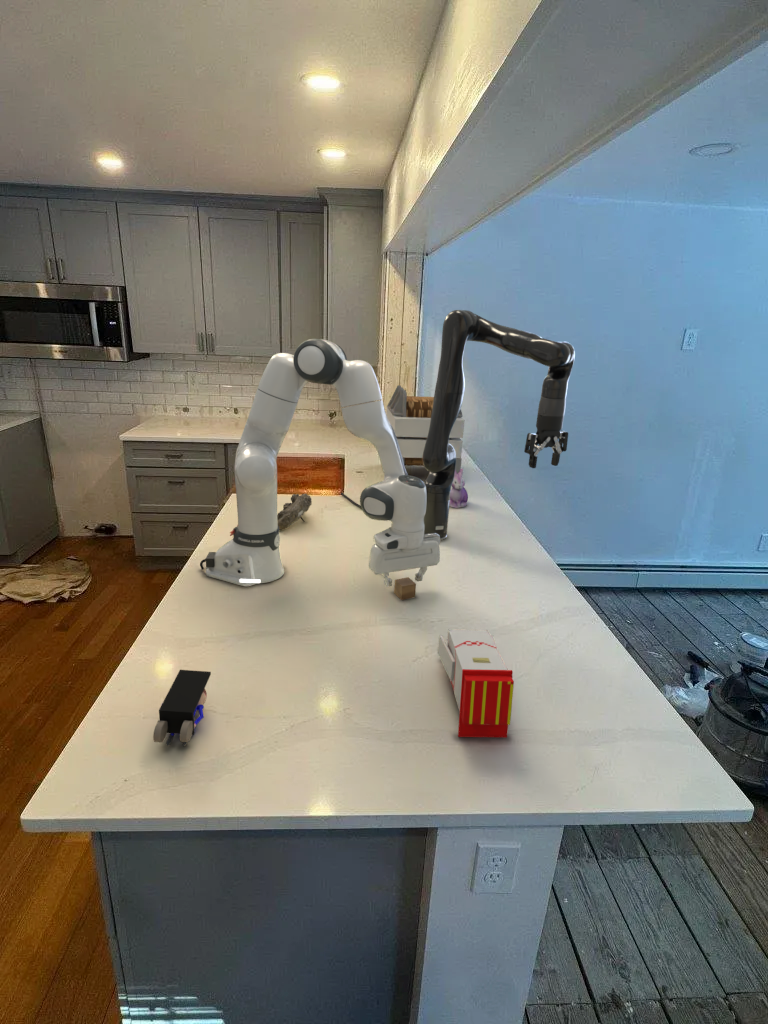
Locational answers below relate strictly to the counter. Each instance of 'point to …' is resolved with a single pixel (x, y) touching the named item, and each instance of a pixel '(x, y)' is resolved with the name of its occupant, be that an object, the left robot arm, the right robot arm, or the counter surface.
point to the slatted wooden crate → (418, 426)
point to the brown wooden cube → (405, 588)
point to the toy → (478, 682)
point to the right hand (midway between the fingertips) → (543, 466)
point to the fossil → (293, 510)
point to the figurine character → (182, 706)
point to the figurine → (458, 491)
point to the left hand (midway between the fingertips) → (403, 582)
